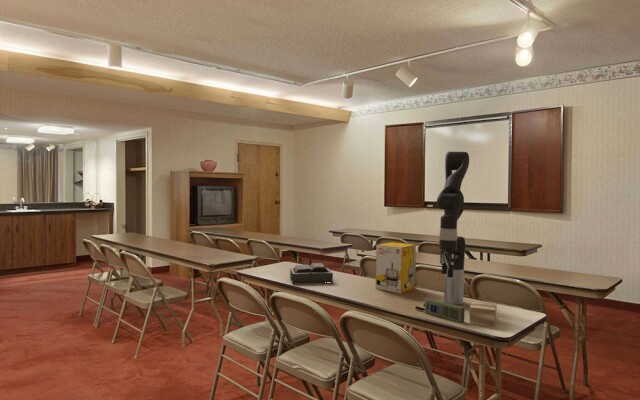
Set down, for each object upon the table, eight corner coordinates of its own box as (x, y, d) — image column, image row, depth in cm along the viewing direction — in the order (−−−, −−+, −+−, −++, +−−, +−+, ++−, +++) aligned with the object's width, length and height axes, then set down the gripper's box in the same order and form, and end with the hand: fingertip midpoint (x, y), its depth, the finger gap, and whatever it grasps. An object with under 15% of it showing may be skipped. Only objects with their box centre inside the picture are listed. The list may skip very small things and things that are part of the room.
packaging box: (415, 288, 255) (416, 244, 255) (401, 293, 243) (402, 247, 242) (390, 284, 266) (391, 242, 265) (375, 288, 253) (376, 244, 252)
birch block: (472, 316, 202) (472, 301, 202) (496, 319, 198) (496, 303, 198) (469, 323, 191) (469, 307, 191) (494, 327, 187) (495, 310, 187)
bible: (332, 285, 261) (332, 268, 260) (286, 284, 262) (286, 268, 262) (333, 277, 284) (333, 262, 284) (290, 276, 285) (290, 261, 285)
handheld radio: (460, 323, 191) (413, 310, 210) (465, 322, 193) (417, 309, 212) (461, 308, 191) (414, 296, 210) (465, 307, 193) (418, 295, 212)
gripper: (462, 240, 191) (461, 278, 191) (451, 237, 205) (450, 273, 205) (444, 240, 190) (443, 278, 190) (435, 237, 205) (434, 272, 205)
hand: (447, 275), depth 198 cm, fingers open, 8 cm apart
